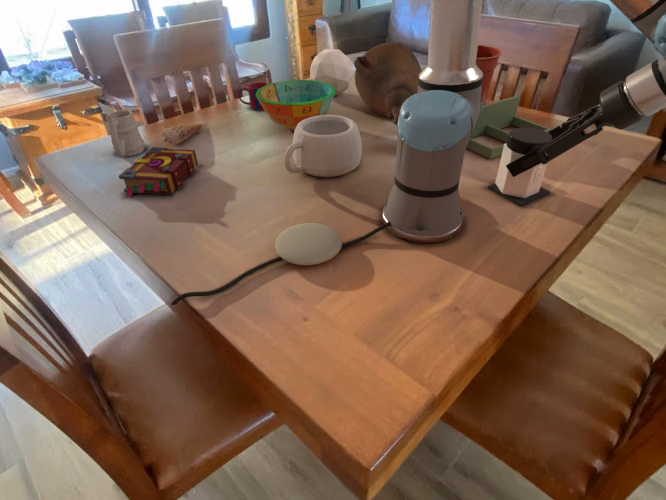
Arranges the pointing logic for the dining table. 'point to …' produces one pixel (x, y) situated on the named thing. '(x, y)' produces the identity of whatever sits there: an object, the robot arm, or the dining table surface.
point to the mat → (519, 200)
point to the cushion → (308, 244)
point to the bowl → (295, 100)
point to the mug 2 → (325, 146)
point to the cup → (253, 95)
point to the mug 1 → (124, 133)
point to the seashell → (180, 133)
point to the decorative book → (159, 171)
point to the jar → (515, 148)
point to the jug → (387, 78)
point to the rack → (498, 125)
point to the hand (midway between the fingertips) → (522, 158)
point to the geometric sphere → (332, 69)
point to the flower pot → (487, 66)
